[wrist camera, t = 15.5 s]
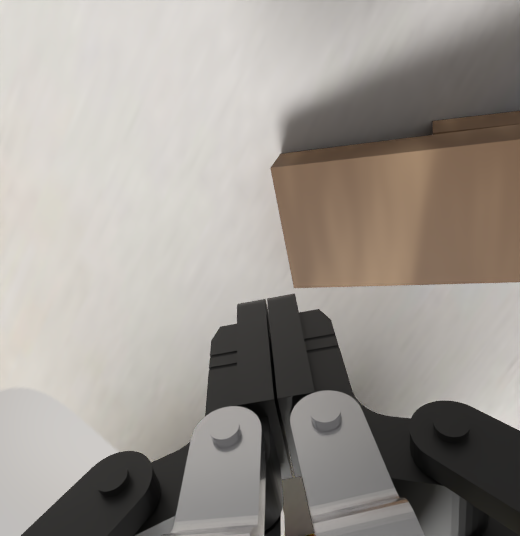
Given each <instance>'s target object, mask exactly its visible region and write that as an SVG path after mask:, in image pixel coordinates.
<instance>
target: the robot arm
mask: <svg viewBox="0 0 520 536" xmlns="http://www.w3.org/2000/svg"><path fill="white" fill-rule="evenodd" d="M267 301H268V308H267V304H266V300H265V299H263V300H257V301H252V302H246V303H241V304H238V305H237V324H233V325H227V326H222V327H220V328H219V330H218V331H217V333H216V334H215V336H214V338H213V339H212V341H211V352H210V357H211V358H210V364H209V369H210V370H209V376H208V389H207V401H206V413H205V417H204V418H203V419H202V420H201V421H200V422H199V423H198V424H197V426H196V427H195V429H194V431H193V433H192V437H191V441H190V442H189V443H188V444H187V445H186V446H184V447H183V448H181V449H180V450H178V451H176V452H174V453H172V454H169V455H167V456H165V457H163V458H161V459H158V460H156V461H154V462H152V463H150V461H149V459H148V458H147V457H146V456H145V455H143V454H141V453H139V452H135V451H124V452H119V453H116V454H113V455H110V456H108V457H106V458H105V459H103V460H101V461H100V462H99V463H97V464H96V465H95V466H94V467H92V468H91V469H90V470H89V471H88V472H87V473H86V474H85V475H84V476H83V477H82V478H81V479H80V480H79V481H78V482H77V483H76V484H75V485H74V486H72V487H71V489H69V490H68V491H67V492H66V493H65V494H64V495H63V496H62V497H61V498H60V499H59V500H58V501H57V502H56V503H55V504H54V505H52V506H51V507H50V508H49V509H48V510H47V511H46V512H45V513H44V514H43V515H42V516H41V517H40V518H39V519H38V520H37V521H36V522H35V523H34V524H33V525H31V526H30V527H29V528H28V529H27V530H26V531H25V532H24V533H23V534H22V535H21V536H285V522H284V511H283V490H282V480H283V479H289V478H292V472H291V463H290V456H291V461H292V465H293V469H294V474H295V477H300V476H302V480H303V484H304V489H305V493H306V498H307V503H308V508H309V512H310V517H311V521H312V526H313V530H314V535H315V536H520V431H519V430H517V429H515V428H513V427H511V426H509V425H507V424H505V423H503V422H501V421H499V420H497V419H495V418H493V417H491V416H489V415H487V414H485V413H483V412H481V411H479V410H477V409H475V408H473V407H471V406H468V405H466V404H463V403H459V402H454V401H436V402H431V403H428V404H426V405H424V406H422V407H420V408H419V409H418V410H417V411H416V412H415V413H414V414H413V416H412V418H411V419H409V418H399V417H390V416H384V415H381V414H377V413H375V412H373V411H370V410H369V409H367V408H365V407H364V406H363V405H362V404H360V402H359V401H358V400H357V399H356V398H355V396H354V394H353V392H352V389H351V385H350V382H349V379H348V375H347V372H346V369H345V365H344V362H343V359H342V355H341V352H340V349H339V346H338V342H337V339H336V336H335V332H334V329H333V326H332V322H331V320H330V319H329V318H328V317H327V316H326V315H325V314H324V313H323V312H321V311H320V310H319V309H317V310H311V311H306V312H300V313H299V312H298V307H297V302H296V297H295V294H290V295H285V296H279V297H273V298H268V299H267ZM268 311H269V313H268ZM289 452H290V455H289Z"/></svg>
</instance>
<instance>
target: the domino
mask: <svg viewBox="0 0 520 536" xmlns="http://www.w3.org/2000/svg"><path fill="white" fill-rule="evenodd" d="M271 173H272V178H273V183H274V188H275V193H276V198H277V203H278V209H279V214H280V219H281V224H282V229H283V234H284V239H285V244H286V249H287V254H288V260H289V265H290V270H291V275H292V280H293V285H294V288H314V287H352V286H390V285H428V284H465V283H503V282H520V124H515V125H507V126H499V127H491V128H483V129H475V130H467V131H459V132H451V133H443V134H435V135H427V136H419V137H411V138H403V139H395V140H387V141H379V142H371V143H363V144H355V145H347V146H339V147H331V148H323V149H315V150H307V151H299V152H291V153H283V154H280V156H279V157H278V158H277V160H276V161H275V162H274V164H273V165H272V167H271Z"/></svg>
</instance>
